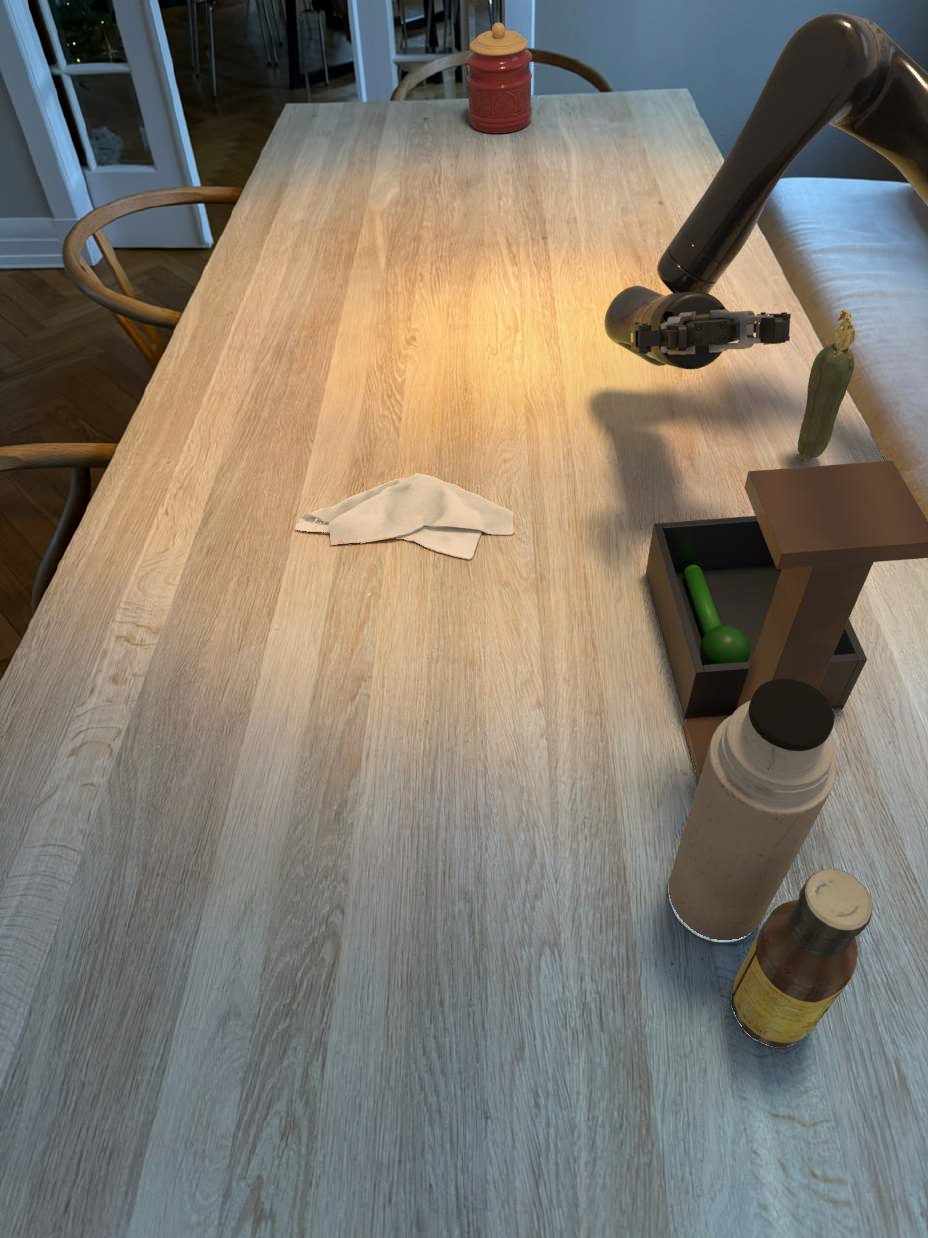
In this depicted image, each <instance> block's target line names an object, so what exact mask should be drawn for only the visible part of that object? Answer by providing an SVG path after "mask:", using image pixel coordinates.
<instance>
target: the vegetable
mask: <svg viewBox="0 0 928 1238" xmlns="http://www.w3.org/2000/svg"><path fill="white" fill-rule="evenodd" d="M840 312H841V313H840V315H839V317H838V318H837V321H838V322H840V321H841V322H840V324H839V325H838V328H837V330H836V333H835V334H834V336H833V339H832V343H830V344H828V345H826V346H824V348H822V349H821V350H820V351H819V352H818V353H817V355H816V356H815V358H814V360H813V362H812V366H811V368H810V373H809V378H808V383H807V393H806V394H807V395H806V396H807V398H806V405H805V409H804V414H803V419H802V422H801V425H800V430H799V435H798V440H797V452H798V456H800V457H801V458H802V459H803V461H810V460H812V459H816V458H818V457H820V456H821V455H823V453H824V452H825V451H826V450H827V447H828V445H829V443H830V441H831V439H832V436H833V432H834V429H835V423H836V420H837V418H838V417H837V416H838V413H839V410H840V408H841V406H842V402H843V401H844V398H845V395H846V394H847V390H848V387H849V385H850V382H851V380H852V377H853V373H854V369H855V357H854V354H853V351H852V350H851V349H850V348H849V347H850V346H851V345H852V344H853V343H854V341H855V338H856V330H855V328H854V326H855V325H854V323H853V322H852V315H851V313H850V312H849V311H847V310H845V309H842V310H840Z"/></svg>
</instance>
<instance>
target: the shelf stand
mask: <svg viewBox="0 0 928 1238" xmlns="http://www.w3.org/2000/svg"><path fill="white" fill-rule="evenodd" d="M744 483H745V484H744V490H745V493H746V495H747V498H748V500H749V502H750V505H751V508H752V510H753V513H754V516H756V518H757V520H758V523H759V525H760V528H761V531H762V533H763V536H764V538H765V541H766V543H767V546H768V548H769V551H770V553H771V556H772V558H773V561H774V563H775V566H776V568H777V569H782V570H781V573H780V576H779V579H778V582H777V585H776V588H775V591H774V595H773V598H772V601H771V604H770V607H769V610H768V613H767V616H766V619H765V622H764V625H763V628H762V631H761V634H760V637H759V640H758V643H757V646H756V649H755V652H754V656H753V659H752V662H751V665H750V668H749V671H748V674H747V677H746V680H745V683H744V686H743V689H742V692H741V695H740V698H739V701H738V704H737V707H736V710H737V709H738V708H739V707H740V706H741V705H743V704H745V703H746V702H748V701H751V698H752V695H753V694H754V692H755V691H756V690H757V689H758V688H759V687H760V686H761V685H762V684H764V683H766V682H768V681H771V680H775V679H794V680H798V681H802V682H805V683H807V684H809V685H811V686H813V687H814V688H816V689H817V690H818V688H819V685H820V683H821V681H822V679H823V676H824V674H825V672H826V669H827V667H828V665H829V663H830V660H831V658H832V656H833V654H834V651H835V649H836V647H837V644H838V642H839V640H840V638H841V635H842V633H843V631H844V628H845V626H846V624H847V622H848V619H849V620H850V618H851V615H852V613H853V610H854V608H855V606H856V603H857V601H858V599H859V597H860V594H861V592H862V589H863V587H864V585H865V583H866V581H867V578H868V576H869V573H870V571H871V569H872V566H873V565H874V563H881V562H893V561H894V562H895V561H907V560H918V559H919V560H921V559H928V519H927V517H926V516H925V514H924V513H923V511H922V509H921V507H920V505H919V503H918V502H917V500H916V498H915V497H914V495H913V493H912V492H911V490H910V489H909V486H908V485H907V483H906V481H905V480H904V478H903V476H902V474H901V472H900V471H899V469H898V467H897V466H896V464H895V462H894V461H893V460H881V461H880V460H879V461H878V460H877V461H867V462H865V461H864V462H853V463H839V464H827V465H815V466H814V465H813V466H800V467H788V468H787V467H786V468H774V469H773V468H772V469H762V470H749V471H748V472H747V476H746V479H745V482H744ZM736 710H735V711H736ZM730 716H731V715H724V716H711V717H698V718H686V720H684V724H683V729H684V733H685V737H686V741H688V742H687V745H689V746H688V749H689V748H690V750H689V753H690V752H691V753H690V756H692V757H691V761H692V760H693V761H692V765H693V764H694V765H693V768H694V767H695V769H694V771H695V770H696V773H695V775H696V774H697V776H696V780H697V779H698V780H697V783H698V782H699V779H700V776H701V773H702V770H703V766H704V763H705V759H706V756H707V752H708V749H709V746H710V743H711V740H712V737H713V734H714V732H715V731H716V729H717V728H718V726H719V725H720V724H721V723H722V722H723V721H724V720H725V719H726V718H728V717H730Z"/></svg>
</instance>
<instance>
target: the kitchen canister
mask: <svg viewBox="0 0 928 1238" xmlns="http://www.w3.org/2000/svg"><path fill="white" fill-rule="evenodd" d="M528 44H529V42H528V40H527V39H526V38H525V37H523V36H522V35H521V34H520V33H519V32H517V31H514V30H511V29H510V30H509V29H506V27H505V25H504V24H503V23H502V22H495V23H494V24H493V25H492V28H491V30H487V31H483V32H482V33H479V34H478V35H477V37H476V38H474V39H473V40H472V41H471V42H470V43H469V48H470V50H471V52H470V53H468V55H467V56H466V57H465V58H466V59H465V62H466V64H467V65H468V69H469V70H468V75H466V81H467V89H468V90H467V91H468V110H467V111H468V119H469V124H470V126H471V127H472V128H473V129H474V130H476V131H479V132H483V133H486V134H508V133H513V132H517V131H519V130H522V129H524V128H525V127H527V126H528V125H529V124H530V123H531V118H532V113H533V111H532V110H533V107H532V79H533V74H532V71H531V69H530V62H531V61H532V59H533V54H532V53H531V52H530V50H529V49H527V47H528Z"/></svg>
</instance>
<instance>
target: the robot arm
mask: <svg viewBox="0 0 928 1238" xmlns="http://www.w3.org/2000/svg"><path fill="white" fill-rule="evenodd" d="M761 89H762V90H761V92H760V94H759V96H758V98H757V100H756V102H755V104H754V106H753V108H752V110H751V112H750V114H749V116H748V118H747V120H746V122H745V123H744V126H743V127H742V128H741V131H740V133H739V134H738V136H737V138H736V139H735V141H734V144H733V146H732V147H731V149H730V150H729V152H728V154H727V156H726V158H725V160H724V161H723V162H722V164H721V166H720V168H719V169H718V171H717V172H716V175H715V176H714V178H713V179H712V181H711V183H710V184H709V186H708V187H707V188H706V190H705V192H704V193H703V195H702V196H701V198H700V199H699V201H698V202H697V203H696V205H695V206H694V208H693V209H692V211H691V212H690V214H689V215H688V217H687V218H686V220H685V221H684V222H683V224H682V225H681V227H680V228H679V229H678V231H677V233H676V234H675V235H674V237H673V238H672V240H671V241H670V243H669V244H668V246H667V247H666V249H665V250H664V252H663V253H662V255H661V256H660V258H659V260H658V261H657V266H656V271H657V275H658V277H659V279H660V281H661V282H662V284H664V286H665V287H666V288H667V289H668V290H669V291H670V292H671V293H670V294H667V295H663V294H661V293H659V292H657V291H655V290H652V289H650V288H648V287H645V286H642V285H632V286H629V287H627V288H625V289H622V290H621V291H620V292H619V293H618V294H617V295H616V296H615V297H614V298H613V299H612V300H611V302H610V304H609V305H608V307H607V310H606V312H605V314H604V315H605V316H604V323H603V325H604V331H605V333H606V335H607V338H609V339H610V341H612V342H613V343H614V344H616V345H618V346H620V347H622V348H624V349H625V350H627V351H629V352H631V353H632V354H634V355H635V356H637V357H639V358H641V359H642V360H644V361H646V362H648V364H651V365H653V366H657V367H664V366H671V367H675V368H677V369H683V370H698V369H703V368H705V367H707V366H709V365H711V364H713V362H714V361H716V360H717V359H718V358H719V357H721V355H722V353H723V352H726V351H728V350H745V349H751V348H752V347H754V344H762V345H763V346H766V345H767V346H768V345H779V344H786V342H790V338H791V336H790V328H791V319H792V317H791V316H792V313H788V312H787V311H786V312H785V311H783V312H780V313H767V312H766V311H761V312H760V313H757V314H755V312H754V311H753V310H737V311H736V310H735V311H730V310H729V309H727V308H726V307H725V305H724V304H723V303H722V301H721V300H719V299H718V298H717V297H716V296H714V295H712V294H710V293H711V292H712V289H713V288H714V287H715V285H717V282H718V281H719V280H720V279H721V277H722V276H723V275H724V273H725V272H726V271H727V270H728V268H729V266H730V265H731V264H732V262H733V261H734V260H735V258H736V257H737V256H738V254H739V253H740V252H741V250H742V249H743V247H744V246H745V244H746V242H747V241H748V240H749V237H750V236H751V235H752V233H753V230H754V229H755V227H756V225H757V223H758V221H759V219H760V217H761V215H762V213H763V211H764V209H765V206H766V205H767V203H768V200H769V198H770V196H771V195H772V193H773V191H774V190H775V188H776V187H777V185H778V184H779V181H780V180H781V178H782V177H783V175H784V174H785V173H786V171H787V170H788V169H789V167H790V166H791V165H792V163H793V162H794V161H795V159H796V158H797V157H798V156H799V155H800V154H801V153H802V151H803V150H804V149H805V148H806V147H807V146H808V145H809V144H810V143H811V142H812V140H814V139H815V138H816V136H817V135H818V134H820V133H821V131H823V129H824V128H826V127H827V125H830V126H832V127H834V128H836V129H839V130H841V131H843V132H844V133H847V134H848V135H850V136H852V137H854V138H855V139H857V140H858V141H860V142H862V143H863V144H865V145H866V146H868V147H869V148H871V149H872V150H874V151H876V152H877V153H878V154H880V155H881V156H883V157H884V158H885V159H887V160H888V161H889V162H890V163H891V164H892V165H894V167H895V168H896V169H897V170H898V171H899V172H900V173H901V174H902V176H903V177H904V178H905V180H906V181H907V183H909V185H910V186H911V187H912V188H913V190H914V191H915V192H916V194H917V195H918V196H919V198H920V199H921V200H922V201H923V203H925V205H926V206H927V207H928V72H927V71H926V70H925V69H924V68H923V67H921V65H919V64H918V63H917V62H916V61H915V60H914V59H913V58H912V57H911V56H909V55H908V54H907V52H905V51H904V50H903V49H902V48H901V46H899V44H898V43H896V41H894V40H893V39H892V37H890V36H889V34H887V33H886V32H885V31H884V29H882V28H881V27H880V26H879V25H878V24H877V23H876V22H874V21H872V20H870V19H868V18H865V17H864V16H859V15H854V14H850V13H846V12H845V13H844V12H828V13H824V14H819V15H817V16H815V17H813V18H810V19H809V20H807V21H806V22H804V23H803V24H802V25H801V26H799V28H797V29H796V30H795V31H794V32H793V33H792V35H791V36H790V37H789V39H788V40H787V42H786V43H785V45H784V46H783V48H782V50H781V51H780V54H779V55H778V58H777V60H776V61H775V63H774V65H773V67H772V69H771V71H770V73H769V75H768V77H767V79H766V81H765V83H764V86H763V88H761ZM754 334H755V335H754Z"/></svg>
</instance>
